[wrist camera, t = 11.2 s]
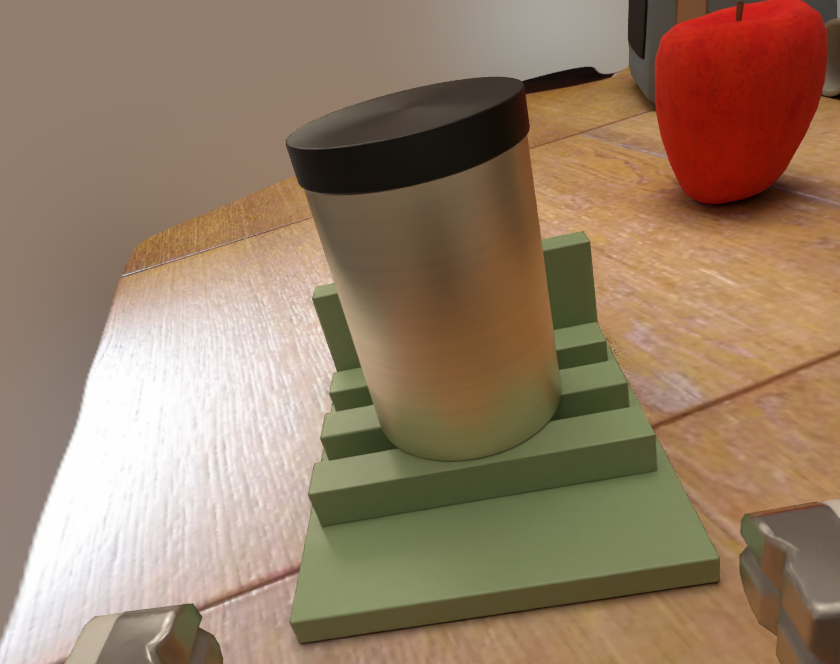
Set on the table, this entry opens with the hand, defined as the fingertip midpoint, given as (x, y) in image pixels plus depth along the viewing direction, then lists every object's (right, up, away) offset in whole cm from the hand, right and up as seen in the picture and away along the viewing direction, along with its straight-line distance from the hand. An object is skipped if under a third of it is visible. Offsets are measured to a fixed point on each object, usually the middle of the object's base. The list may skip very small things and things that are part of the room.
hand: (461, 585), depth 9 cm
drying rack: (+2, -1, +14) cm, 15 cm away
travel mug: (+1, +1, +13) cm, 13 cm away
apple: (+19, +12, +30) cm, 37 cm away
